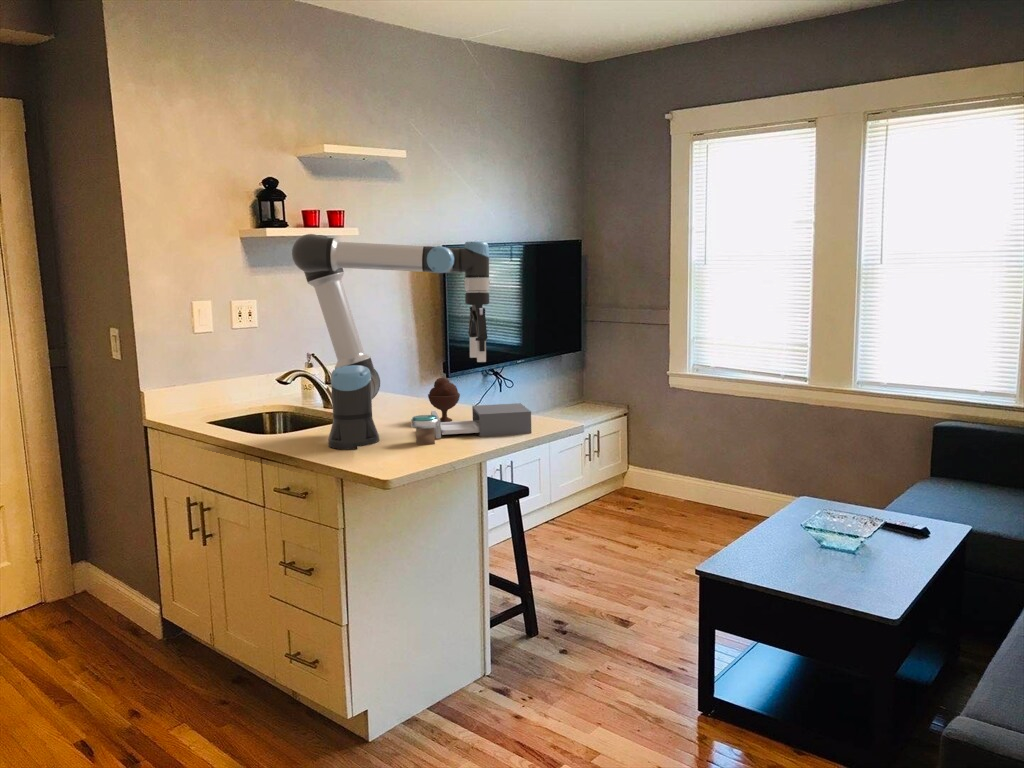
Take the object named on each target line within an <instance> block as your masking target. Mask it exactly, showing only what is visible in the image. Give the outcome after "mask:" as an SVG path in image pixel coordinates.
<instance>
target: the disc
mask: <svg viewBox="0 0 1024 768" xmlns="http://www.w3.org/2000/svg"><path fill="white" fill-rule="evenodd" d="M410 422H411V423H410V426H411V428H412V429H415V430H416V429H429V428H435V427H438V418H437V416H435V415H431V414H421V415H414V416H412V418H411V419H410Z"/></svg>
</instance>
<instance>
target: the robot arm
mask: <svg viewBox="0 0 1024 768" xmlns="http://www.w3.org/2000/svg"><path fill="white" fill-rule="evenodd" d="M489 246H490V245H489V244H488V243H487V242H486V241H466V242H465V243H464V246H463V247H461V248H460V247H458V248H452V247H451V248H450V247H446V246H442V245H440V246H439V245H437V246H429V245H428V246H426V245H425V246H424V245H411V244H410V245H409V244H388V243H370V242H369V243H367V242H352V241H351V242H348V241H347V242H346V241H339V240H338V239H337V238H335V237H329V236H326V235H323V234H314V233H307V234H304V235H302V236H300V237H298V238H297V239H296V240H295V241H294V243H293V245H292V248H291V257H292V261H293V262H294V264H295V266H296V267H297V268H298V269H299V270H301V271H302V272H303V274H304V277H305V280H306V282H307V284H308V285H310V286H312V287H313V288H314V292H315V294H316V297H317V299H318V303H319V307H320V309H321V313H322V315H323V318H324V322H325V324H326V325H325V326H326V328H327V333H328V335H329V337H330V342H331V344H332V347H333V351H334V353H335V357H336V360H337V362H336V364H335V366H334V369H333V370H332V371H331V373H330V384H331V385H330V386H331V401H332V403H331V404H332V405H331V406H332V419H333V421H332V425H331V428H330V432H329V434H328V435H329V436H328V440H327V441H328V447H329V448H331V447H332V448H331V449H334V448H337V449H336V450H358V447H365V446H371V445H374V444H376V443H379V442H380V435H379V433H378V429H377V427H376V425H375V422H374V418H373V409H372V408H373V401H372V400H374V399H375V398H376V396H377V395H378V393H379V391H380V388H381V377H380V375H379V373H378V371H377V370H376V369H375V367H374V363H373V361H372V358H371V356H370V355H369V354H367V353H365V351H364V348H363V345H362V342H361V339H360V336H359V332H358V330H357V325H356V323H355V319H354V317H353V314H352V310H351V307H350V304H349V301H348V297H347V295H346V294H347V293H346V290H345V288H344V286H343V285H344V284H343V281H342V279H343V276H344V274H345V271H344V269H359V270H376V271H377V270H379V271H383V270H384V271H402V272H422V273H423V272H424V273H431V274H433V273H434V274H447V273H448V274H449V273H464V291H466V292H465V294H464V297H465V299H464V302H465V305H466V306H467V305H468V306H469V305H471V306H469V319H468V320H469V322H468V331H467V332H468V336H469V359H470V358H471V359H473V358H475V359H476V362H477V363H487V340H488V337H489V336H488V329H487V319H486V308H485V307H483V305H484V306H485V305H489V304H490V293H489V292H488V291H489V290H490V285H491V284H492V282H491V280H490V249H489Z"/></svg>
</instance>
